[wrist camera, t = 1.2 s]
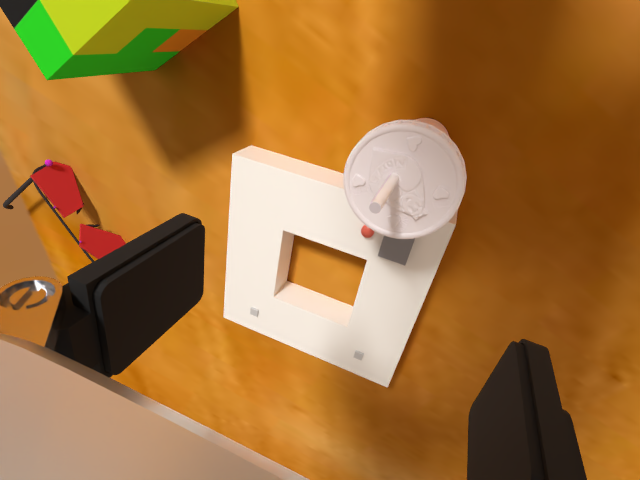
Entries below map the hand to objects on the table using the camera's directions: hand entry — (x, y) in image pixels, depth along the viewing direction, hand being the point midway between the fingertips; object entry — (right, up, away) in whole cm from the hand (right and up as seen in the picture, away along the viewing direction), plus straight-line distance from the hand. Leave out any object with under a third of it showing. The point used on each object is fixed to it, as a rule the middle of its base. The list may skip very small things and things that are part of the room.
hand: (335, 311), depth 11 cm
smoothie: (+7, +9, +17) cm, 20 cm away
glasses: (-31, +4, +37) cm, 49 cm away
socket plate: (0, 0, +24) cm, 24 cm away
